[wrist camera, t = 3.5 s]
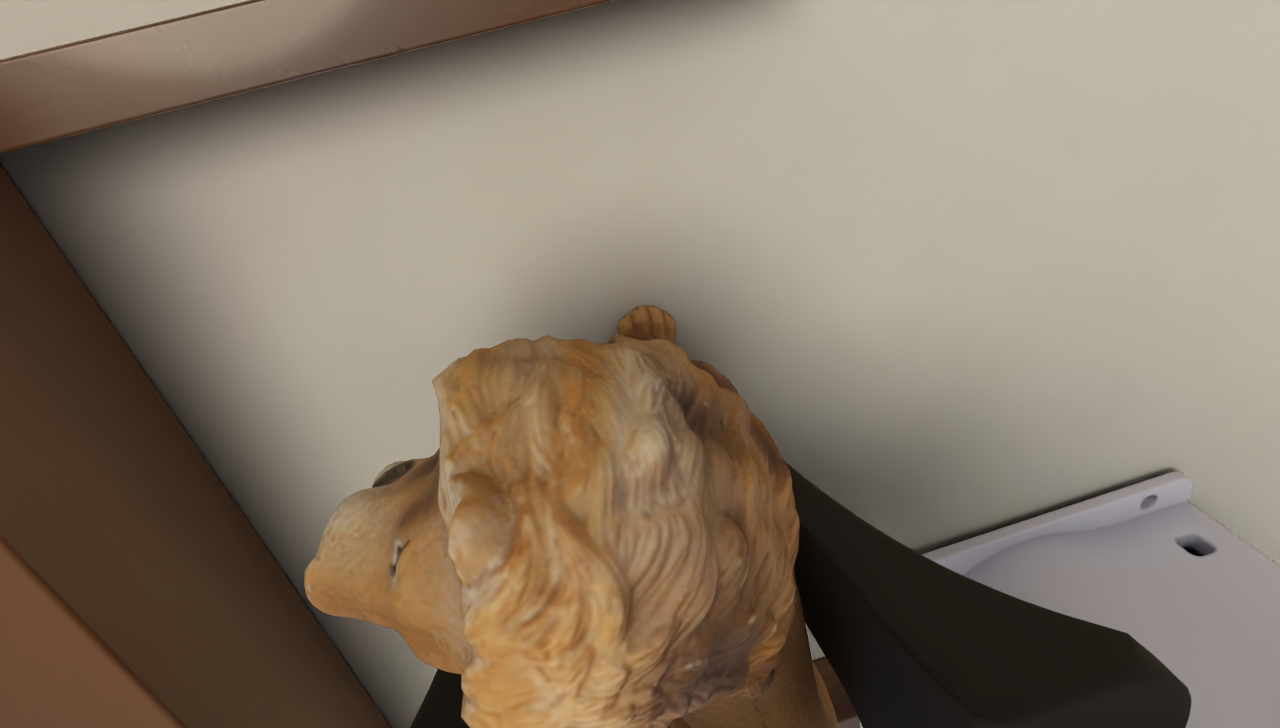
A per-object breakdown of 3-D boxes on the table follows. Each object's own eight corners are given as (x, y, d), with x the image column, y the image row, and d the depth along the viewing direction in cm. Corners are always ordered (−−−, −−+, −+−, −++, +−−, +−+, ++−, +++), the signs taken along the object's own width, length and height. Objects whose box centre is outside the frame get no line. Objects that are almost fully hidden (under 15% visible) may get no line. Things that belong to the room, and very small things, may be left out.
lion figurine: (335, 299, 12) (123, 776, 5) (576, 140, 12) (776, 371, 4) (689, 677, 20) (834, 1105, 12) (844, 585, 20) (1095, 964, 12)
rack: (748, -110, 11) (994, -212, 6) (830, 675, 21) (942, 889, 16) (-657, 226, 9) (-2104, 512, 4) (182, 897, 20) (77, 1212, 15)
